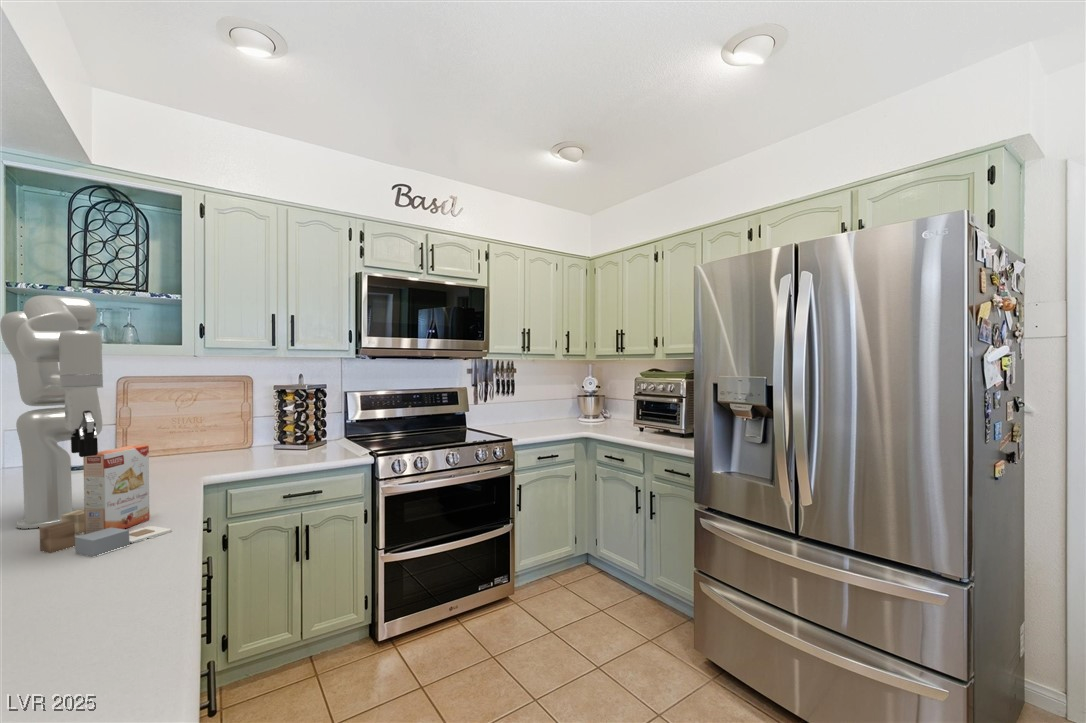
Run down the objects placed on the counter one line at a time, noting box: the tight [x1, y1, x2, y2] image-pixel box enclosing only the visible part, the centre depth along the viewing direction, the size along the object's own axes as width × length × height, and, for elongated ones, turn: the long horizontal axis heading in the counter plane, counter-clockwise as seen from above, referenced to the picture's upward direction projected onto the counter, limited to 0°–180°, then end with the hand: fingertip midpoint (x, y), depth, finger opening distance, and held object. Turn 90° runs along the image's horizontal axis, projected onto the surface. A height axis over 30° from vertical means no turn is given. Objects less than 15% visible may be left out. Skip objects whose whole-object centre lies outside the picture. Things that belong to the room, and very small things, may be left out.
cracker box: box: [82, 444, 151, 535], centre depth 132 cm, size 14×6×21 cm, turn 179°
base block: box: [74, 527, 131, 557], centre depth 116 cm, size 7×7×4 cm
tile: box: [129, 525, 173, 544], centre depth 125 cm, size 9×9×1 cm
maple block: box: [61, 509, 85, 535], centre depth 130 cm, size 4×4×5 cm
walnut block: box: [39, 522, 76, 554], centre depth 117 cm, size 4×4×6 cm
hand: (84, 454), depth 119 cm, fingers open, 9 cm apart
